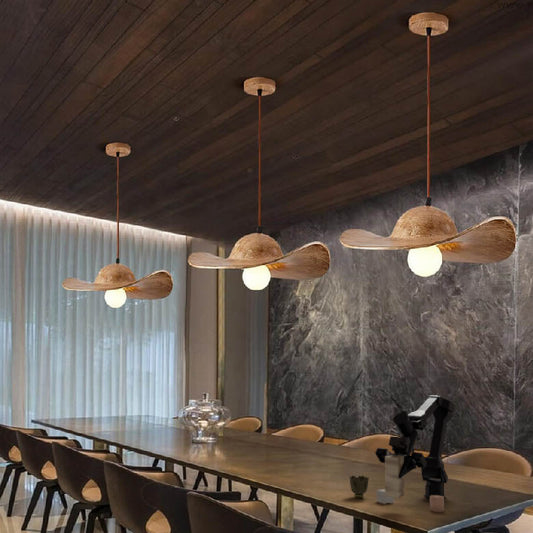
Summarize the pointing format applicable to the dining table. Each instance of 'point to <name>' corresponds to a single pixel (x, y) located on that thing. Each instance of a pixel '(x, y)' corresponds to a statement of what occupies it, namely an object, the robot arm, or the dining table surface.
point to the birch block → (394, 476)
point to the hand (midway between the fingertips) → (392, 476)
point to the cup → (359, 485)
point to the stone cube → (384, 497)
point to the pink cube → (436, 503)
